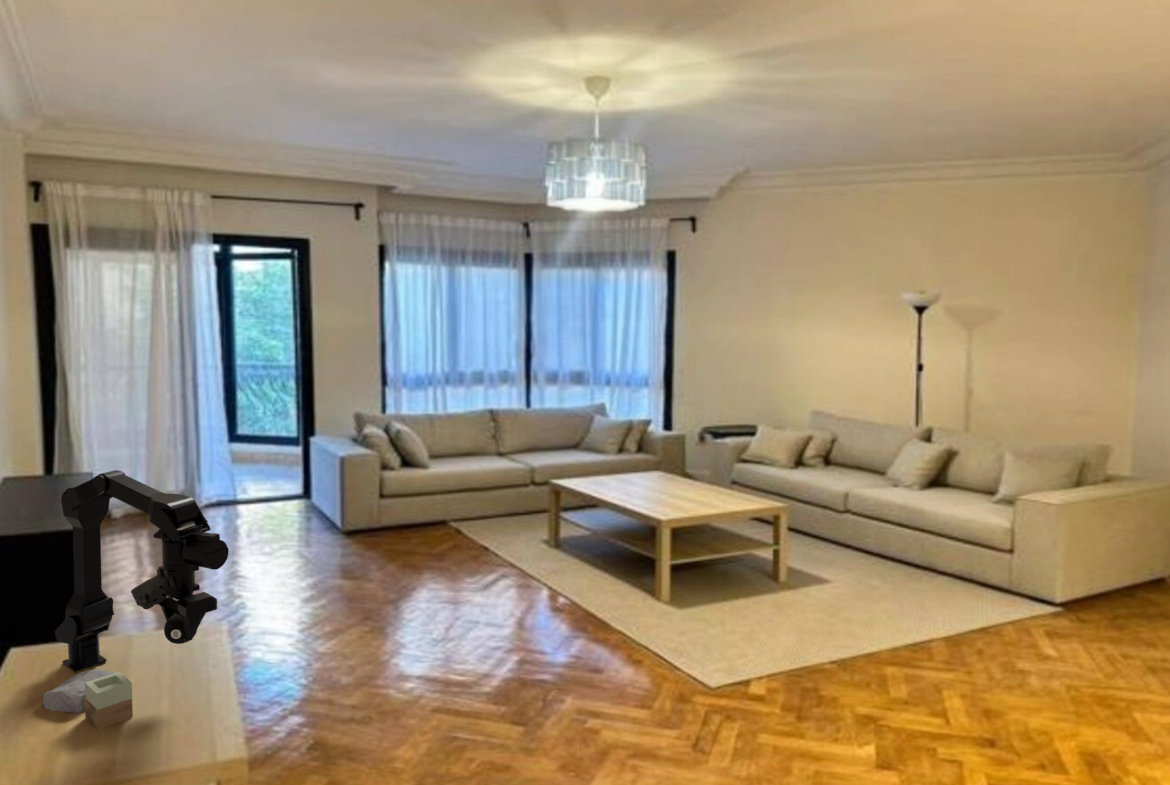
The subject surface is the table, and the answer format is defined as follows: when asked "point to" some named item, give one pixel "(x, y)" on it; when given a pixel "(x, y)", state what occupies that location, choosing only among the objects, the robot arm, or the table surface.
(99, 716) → the tower base
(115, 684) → the tower cap
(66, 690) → the stone block
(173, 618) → the billiard ball
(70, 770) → the table surface
